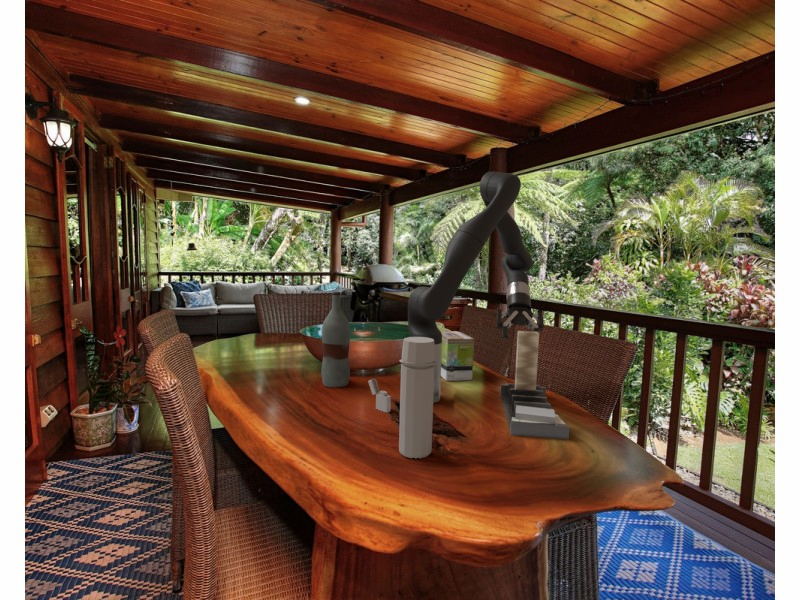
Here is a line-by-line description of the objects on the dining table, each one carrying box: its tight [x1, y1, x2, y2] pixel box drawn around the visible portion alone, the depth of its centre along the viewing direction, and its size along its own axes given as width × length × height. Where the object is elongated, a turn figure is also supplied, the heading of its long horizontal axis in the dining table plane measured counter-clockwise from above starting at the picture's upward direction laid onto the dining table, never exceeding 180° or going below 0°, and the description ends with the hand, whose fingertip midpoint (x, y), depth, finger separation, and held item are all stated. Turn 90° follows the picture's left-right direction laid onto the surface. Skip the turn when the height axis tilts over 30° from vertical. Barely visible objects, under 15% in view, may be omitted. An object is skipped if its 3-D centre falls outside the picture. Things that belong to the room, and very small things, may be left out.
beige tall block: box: [514, 330, 540, 390], centre depth 129 cm, size 6×3×20 cm, turn 82°
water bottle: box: [398, 336, 437, 460], centre depth 98 cm, size 9×8×25 cm
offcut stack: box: [512, 405, 566, 425], centre depth 109 cm, size 11×7×4 cm, turn 82°
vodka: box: [320, 291, 351, 388], centre depth 146 cm, size 9×9×30 cm
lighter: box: [367, 378, 392, 414], centre depth 125 cm, size 7×2×8 cm, turn 51°
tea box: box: [440, 330, 475, 382], centre depth 161 cm, size 15×10×15 cm, turn 13°
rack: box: [499, 382, 570, 440], centre depth 120 cm, size 13×31×6 cm, turn 172°
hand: (520, 339), depth 139 cm, fingers open, 8 cm apart
